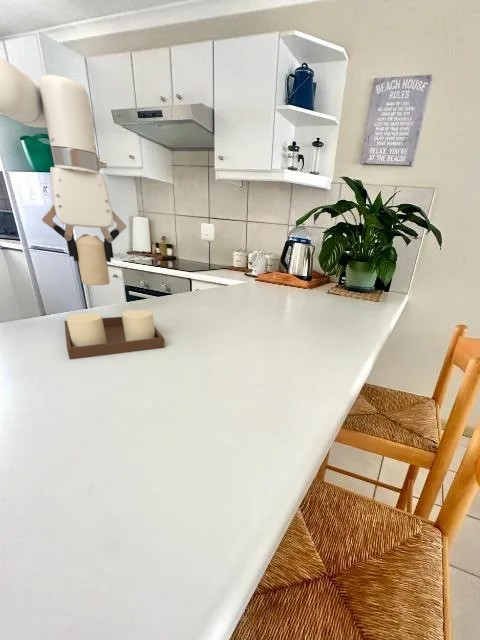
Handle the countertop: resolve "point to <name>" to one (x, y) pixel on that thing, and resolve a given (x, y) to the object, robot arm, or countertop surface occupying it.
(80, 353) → the tray
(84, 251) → the candle
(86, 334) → the cream candle left
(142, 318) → the cream candle right
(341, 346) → the countertop surface
